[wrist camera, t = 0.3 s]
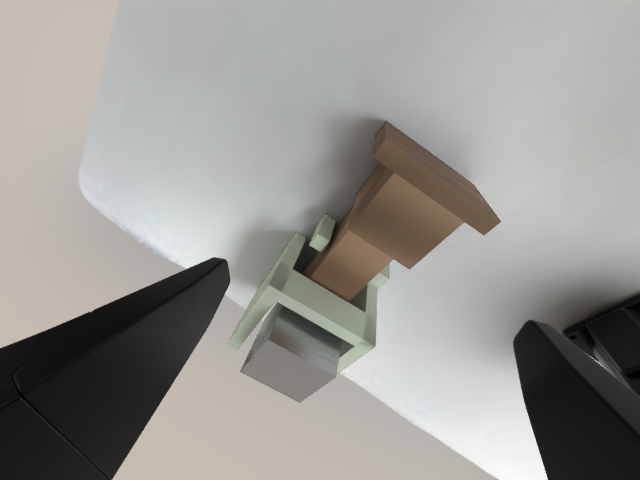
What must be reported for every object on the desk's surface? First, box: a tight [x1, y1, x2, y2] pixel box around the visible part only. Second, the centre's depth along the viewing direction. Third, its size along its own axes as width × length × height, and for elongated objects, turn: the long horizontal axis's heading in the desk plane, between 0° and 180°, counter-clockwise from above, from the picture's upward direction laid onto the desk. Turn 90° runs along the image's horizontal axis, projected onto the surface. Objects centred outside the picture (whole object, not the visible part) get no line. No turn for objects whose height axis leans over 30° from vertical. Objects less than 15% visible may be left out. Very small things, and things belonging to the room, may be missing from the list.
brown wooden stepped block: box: [301, 121, 501, 302], centre depth 20 cm, size 18×7×5 cm, turn 149°
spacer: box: [240, 303, 342, 402], centre depth 20 cm, size 5×5×5 cm
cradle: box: [227, 214, 389, 374], centre depth 22 cm, size 8×11×7 cm
